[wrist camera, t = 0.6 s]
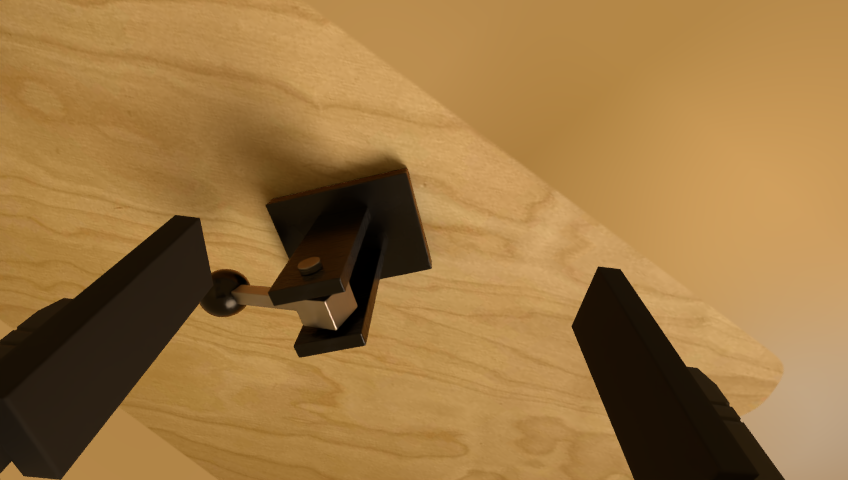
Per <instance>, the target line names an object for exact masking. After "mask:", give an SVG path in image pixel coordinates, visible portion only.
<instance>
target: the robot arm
mask: <svg viewBox="0 0 848 480" xmlns="http://www.w3.org/2000/svg"><path fill="white" fill-rule="evenodd" d="M212 286H213V280H212V276H211V271H210V266H209V261H208V256H207V251H206V246H205V241H204V236H203V231H202V226H201V222H200V218H195V217H187V216H179V215H175V216H174V217H173V218H171V219H170V220H169V221H168V222H166V223H165V224H164V225H163V226H162V227H160V228H159V229H158V230H157V231H156V232H154V233H153V234H152V235H151V236H149V237H148V238H147V239H146V240H145V241H143V242H142V243H141V244H140V245H138V246H137V247H136V248H135V249H134V250H132V251H131V252H130V253H129V254H128V255H126V256H125V257H124V258H123V259H121V260H120V261H119V262H118V263H117V264H115V265H114V266H113V267H112V268H111V269H109V270H108V271H107V272H106V273H104V274H103V275H102V276H101V277H100V278H98V279H97V280H96V281H95V282H93V283H92V284H91V285H90V286H89V287H87V288H86V289H85V290H84V291H83V292H81V293H80V294H79V295H78V296H76V297H75V298H74V299H68V298H63V299H61V300H59V301H57V302H55V303H53V304H51V305H49V306H47V307H45V308H43V309H41V310H39V311H37V312H36V313H35V314H33V315H32V316H31V317H29V318H28V319H27V320H26V321H24V322H23V323H22V324H20V325H19V326H18V327H17V330H13V331H11V332H10V333H9V334H8V335H7V336H5V337H4V338H3V339H1V340H0V473H1V472H2V471H3V470H4V469H5V468H6V467H7V465H8V464H9V463H10V462H11V461H12V462H13V463H14V464H15V466H16V467H17V468H18V469H19V471H20V472H21V473H22V475H23V476H27V477H39V478H49V479H59V480H61V479H62V477H63V476H64V475H65V474H66V472H67V471H68V470H69V468H70V467H71V466H72V465H73V464H74V462H75V461H76V460H77V458H78V457H79V456H80V455H81V453H82V452H83V451H84V450H85V448H86V447H87V446H88V444H89V443H90V442H91V441H92V439H93V438H94V437H95V436H96V434H97V433H98V432H99V430H100V429H101V428H102V427H103V425H104V424H105V423H106V422H107V420H108V419H109V418H110V416H111V415H112V414H113V412H114V411H115V410H116V409H117V407H118V406H119V405H120V404H121V402H122V401H123V400H124V399H125V397H126V396H127V395H128V393H129V392H130V391H131V390H132V388H133V387H134V386H135V385H136V383H137V382H138V381H139V379H140V378H141V377H142V376H143V374H144V373H145V372H146V371H147V369H148V368H149V367H150V365H151V364H152V363H153V362H154V360H155V359H156V358H157V357H158V355H159V354H160V353H161V351H162V350H163V349H164V348H165V346H166V345H167V344H168V342H169V341H170V340H171V339H172V337H173V336H174V335H175V334H176V332H177V331H178V330H179V328H180V327H181V326H182V325H183V323H184V322H185V321H186V320H187V318H188V317H189V316H190V314H191V313H192V312H193V311H194V309H195V308H196V307H197V306H198V304H199V303H200V302H201V300H202V299H203V298H204V297H205V295H206V294H207V293H208V292H209V290H210V289H211V288H212ZM572 329H573V331H574V334H575V336H576V339H577V341H578V343H579V346H580V348H581V351H582V353H583V356H584V358H585V360H586V363H587V365H588V368H589V370H590V373H591V375H592V378H593V380H594V382H595V385H596V387H597V390H598V392H599V395H600V397H601V400H602V402H603V404H604V407H605V409H606V412H607V414H608V417H609V419H610V421H611V424H612V426H613V429H614V431H615V434H616V436H617V439H618V441H619V443H620V446H621V448H622V451H623V453H624V456H625V458H626V461H627V463H628V465H629V468H630V470H631V473H632V475H633V478H634V480H785V479H784V478H783V476H782V475H781V474H780V472H779V471H778V470H777V468H776V467H775V465H774V464H773V463H772V461H771V460H770V459H769V457H768V456H767V454H766V453H765V452H764V450H763V449H762V447H761V446H760V445H759V443H758V442H757V440H756V439H755V438H754V436H753V435H752V434H751V432H750V431H749V429H748V428H747V427H746V425H745V424H744V423H742V422H741V421H740V419H741V418H740V417H739V416H738V414H737V413H736V411H735V410H734V409H733V407H730V406H729V402H728V400H727V399H726V398H725V396H724V395H723V393H722V392H721V391H720V389H719V388H718V387H717V385H716V384H715V383H714V382H713V381H711V380H710V379H709V378H708V377H707V376H706V375H705V374H704V373H702V372H701V371H700V370H699V369H698V368H693V367H686V365H685V364H684V362H683V361H682V359H681V358H680V356H679V355H678V353H677V352H676V351H675V349H674V348H673V346H672V345H671V343H670V342H669V340H668V339H667V337H666V336H665V334H664V333H663V331H662V330H661V328H660V327H659V325H658V324H657V322H656V321H655V320H654V318H653V317H652V315H651V314H650V312H649V311H648V309H647V308H646V306H645V305H644V303H643V302H642V300H641V299H640V297H639V296H638V294H637V293H636V292H635V290H634V289H633V287H632V286H631V284H630V283H629V281H628V280H627V278H626V277H625V275H624V274H623V272H622V271H621V269H614V268H606V267H598V268H597V270H596V273H595V275H594V277H593V279H592V282H591V284H590V286H589V288H588V291H587V293H586V295H585V297H584V299H583V302H582V304H581V306H580V308H579V311H578V313H577V315H576V317H575V320H574V322H573V324H572Z"/></svg>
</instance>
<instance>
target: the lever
mask: <svg viewBox="0 0 848 480" xmlns="http://www.w3.org/2000/svg"><path fill="white" fill-rule="evenodd" d="M211 276H212V280H213V286H212V288H211V289H210V290H209V292H208V293H207V294H206V295H205V297H204V298H203V299H202V300H201V302H200V305H201V307H202V308H203V309H204V310H205V311H206V312H208V313H209V314H211V315H213V316H217V317H229V316H232V315H235V314H237V313H239V312H240V311H242V310H243V309H244V308H245V307H246V305H251V306H259V307H268V308H277V309H285V310H294V311H297V313H298V315H299V317H300V319H301V321H302V324H303V325H304V326H309V327H316V328H323V329H330V330H338V328H339V327H340V326H341V325H342V324H343V323H344V322H345V321H346V319H347V318H348V317H349V316H350V315H351V314H352V313H353V312H354V311H355V309H356V308H357V307H358V306H357V303H356V300H355V298H354V295H353V292H352V290H351V287H350V284H349V282H348V285H347V288H346V291H345V292H343V293H338V294H333V295H328V296H323V297H318V298H313V299H308V300H303V301H298V302H293V303H288V304H283V305H278V306H274V305H273V303H272V301H271V299H270V297H269V295H268V291H269V290H270V288H271V287H264V286H252V285H250V283H249V281H248V280H247V278H246V277H245V276H244V275H243V274H241V273H240V272H238V271H235V270H231V269H221V270H217V271H214V272H212V273H211Z"/></svg>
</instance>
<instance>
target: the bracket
mask: <svg viewBox="0 0 848 480" xmlns="http://www.w3.org/2000/svg"><path fill="white" fill-rule="evenodd" d="M266 207H267V210H268V212H269V214H270V216H271V219H272V221H273V223H274V226H275V228H276V230H277V232H278V235H279V237H280V239H281V241H282V244H283V246H284V248H285V251H286V253H287V255H288V257H289V261H288V263H287V264H286V266H285V267H284V269H283V270H282V272H281V273H280V275H279V276H278V278H277V279H276V281H275V282H274V284H273V285H272V287H271V288H270V290H269V291H268V295H269V297H270V299H271V301H272V303H273V305H274V306H278V305H283V304H288V303H293V302H298V301H303V300H308V299H313V298H318V297H323V296H328V295H333V294H338V293H343V292H345V291H346V288H347V285H348V282H349V284H350V287H351V290H352V292H353V295H354V298H355V300H356V303H357V306H358V307H357V308H356V309H355V311H354V312H353V313H352V314H351V315H350V316H349V317H348V318H347V319H346V321H345V322H344V323H343V324H342V325H341V326H340V327H339V328H338V330H330V329H323V328H316V327H309V326H304V325H303V326H302V329H301V331H300V333H299V335H298V337H297V340H296V342H295V344H294V348H295V350H296V352H297V354H298V356H299V357H306V356H311V355H317V354H322V353H328V352H333V351H338V350H344V349H349V348H355V347H360V346H365V345H366V342H367V337H368V332H369V327H370V323H371V318H372V313H373V308H374V304H375V299H376V294H377V289H378V285H379V280H380V279H383V278H388V277H393V276H398V275H403V274H408V273H413V272H418V271H423V270H428V269H431V268H432V261H431V257H430V253H429V249H428V245H427V241H426V237H425V234H424V230H423V226H422V222H421V218H420V214H419V211H418V207H417V203H416V199H415V195H414V191H413V187H412V184H411V180H410V176H409V172H408V169H407V168H404V169H400V170H395V171H391V172H387V173H382V174H378V175H374V176H369V177H365V178H361V179H357V180H352V181H348V182H344V183H339V184H335V185H331V186H326V187H322V188H318V189H313V190H309V191H305V192H300V193H296V194H292V195H287V196H283V197H279V198H275V199H272V200H271V201H270V202H268V203H267V204H266Z"/></svg>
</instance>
